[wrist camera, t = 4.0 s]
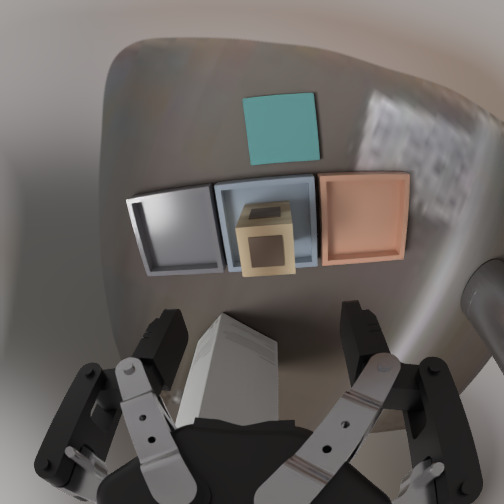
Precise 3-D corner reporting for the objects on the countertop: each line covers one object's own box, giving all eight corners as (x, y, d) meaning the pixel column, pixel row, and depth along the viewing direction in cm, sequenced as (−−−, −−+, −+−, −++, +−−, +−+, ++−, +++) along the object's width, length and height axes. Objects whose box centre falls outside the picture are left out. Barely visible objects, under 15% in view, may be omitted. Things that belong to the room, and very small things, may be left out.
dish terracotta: (403, 171, 22) (409, 174, 21) (398, 252, 26) (403, 259, 25) (317, 173, 23) (319, 176, 22) (320, 258, 27) (322, 265, 26)
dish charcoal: (212, 182, 25) (208, 186, 23) (226, 264, 28) (223, 272, 27) (133, 195, 26) (125, 199, 24) (152, 269, 29) (147, 276, 28)
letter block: (288, 199, 24) (292, 222, 19) (292, 241, 26) (295, 274, 21) (244, 203, 25) (234, 227, 19) (250, 244, 27) (242, 277, 21)
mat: (312, 93, 20) (313, 92, 20) (319, 159, 23) (319, 159, 22) (242, 99, 21) (242, 98, 21) (251, 164, 24) (251, 165, 23)
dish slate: (311, 173, 23) (313, 176, 22) (315, 258, 27) (317, 266, 26) (217, 182, 24) (214, 185, 23) (231, 264, 28) (228, 272, 27)
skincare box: (197, 339, 33) (162, 446, 19) (224, 308, 31) (191, 430, 17) (252, 367, 35) (238, 473, 21) (282, 341, 32) (280, 459, 18)
